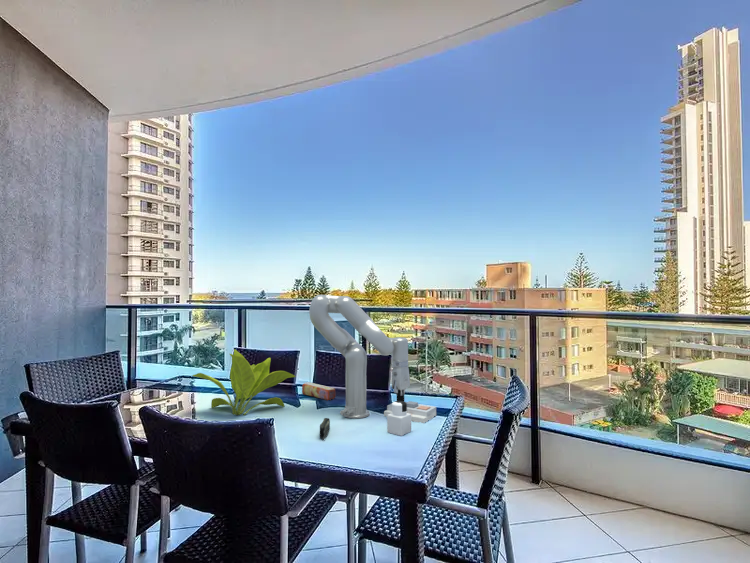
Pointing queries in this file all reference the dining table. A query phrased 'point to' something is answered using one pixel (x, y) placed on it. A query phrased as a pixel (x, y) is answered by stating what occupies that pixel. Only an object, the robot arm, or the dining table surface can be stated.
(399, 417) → the medicine bottle
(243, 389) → the artificial plant
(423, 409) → the terracotta key
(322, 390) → the snack package
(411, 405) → the slate key
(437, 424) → the dining table surface
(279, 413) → the dining table surface
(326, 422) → the mobile phone
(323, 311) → the robot arm
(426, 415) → the white shallow tray
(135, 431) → the dining table surface
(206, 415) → the dining table surface
